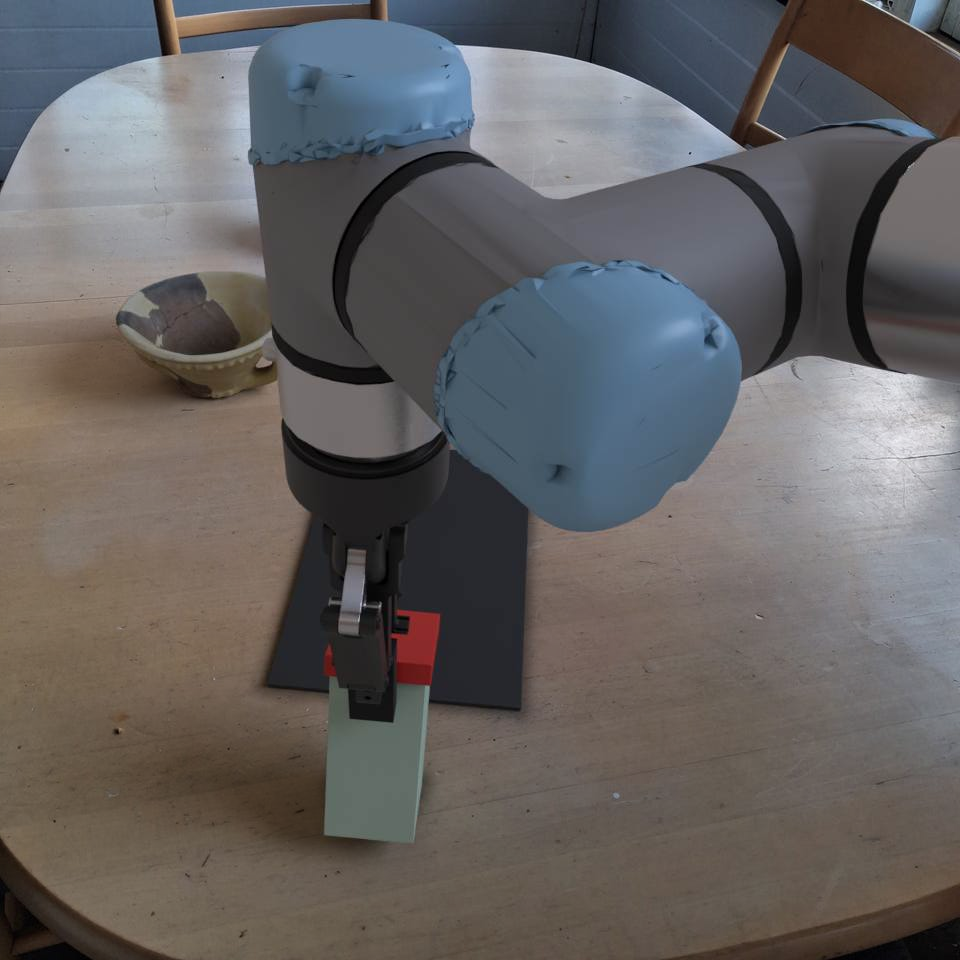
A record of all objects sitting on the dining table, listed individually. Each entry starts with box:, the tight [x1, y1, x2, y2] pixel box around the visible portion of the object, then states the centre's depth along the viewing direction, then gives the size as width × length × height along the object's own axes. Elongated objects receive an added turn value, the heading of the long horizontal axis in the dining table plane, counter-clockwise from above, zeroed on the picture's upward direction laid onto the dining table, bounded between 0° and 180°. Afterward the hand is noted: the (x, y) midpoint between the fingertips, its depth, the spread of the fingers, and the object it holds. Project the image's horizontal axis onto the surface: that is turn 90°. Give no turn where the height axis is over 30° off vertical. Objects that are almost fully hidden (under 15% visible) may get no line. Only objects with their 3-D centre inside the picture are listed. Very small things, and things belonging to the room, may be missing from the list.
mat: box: [266, 449, 529, 712], centre depth 82 cm, size 30×20×1 cm, turn 176°
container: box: [323, 610, 440, 844], centre depth 61 cm, size 7×7×14 cm
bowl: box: [115, 270, 278, 399], centre depth 96 cm, size 18×18×10 cm
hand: (373, 710), depth 56 cm, fingers closed
